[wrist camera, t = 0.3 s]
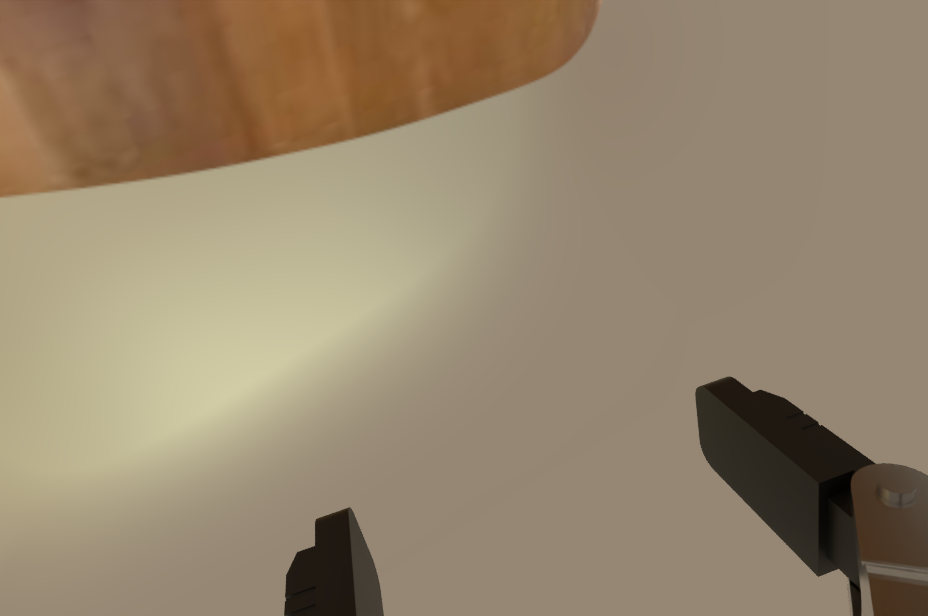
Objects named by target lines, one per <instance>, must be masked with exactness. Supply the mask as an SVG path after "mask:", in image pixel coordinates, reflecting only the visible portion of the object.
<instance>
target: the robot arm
mask: <svg viewBox="0 0 928 616" xmlns="http://www.w3.org/2000/svg"><path fill="white" fill-rule="evenodd" d="M696 407H697V416H698V428H699V438H700V444H701V448H702V451H703V454H704V456H705V458H706V460H707V461H708V463H709V464H710V466H711V467H712V468H713V469H714V470H715V471H716V472H717V473H718V474H719V476H720V477H721V478H722V479H723V480H724V481H725V482H726V483H727V484H728V485H729V486H730V487H731V488H732V489H733V490H734V491H735V492H736V493H737V494H738V495H739V496H740V497H741V498H742V499H743V500H744V501H745V502H746V503H747V504H748V505H749V506H750V507H751V508H752V509H753V510H754V511H755V512H756V513H757V514H758V515H759V517H761V519H762V520H763V521H764V522H765V523H766V524H767V525H768V526H769V527H770V528H771V529H772V530H773V531H774V532H775V533H776V534H777V535H778V536H779V537H780V538H781V539H782V540H783V541H784V542H785V543H786V544H787V545H788V546H789V547H790V548H791V549H792V550H793V551H794V552H795V553H796V554H797V555H798V556H799V558H801V560H802V561H803V562H804V563H805V564H806V565H807V566H808V567H809V568H810V569H811V570H812V571H813V572H814V573H815V574H816V575H817V576H818V577H819V576H821V575H824V574H826V573H829V572H831V571H834V570H837V569H840V570H841V571H842V572H843V573H844V574H845V575H846V576H847V577H848V598H849V607H850V616H928V476H927V475H926V474H924V473H922V472H920V471H917V470H915V469H913V468H910V467H907V466H902V465H897V464H885V463H882V464H875V463H874V462H873V461H871V460H870V459H868V458H867V457H866V456H864V455H863V454H861V453H860V452H859V451H857V450H856V449H854V448H853V447H852V446H850V445H849V444H847V443H846V442H845V441H843V440H842V439H841V438H839V437H838V436H836V435H835V434H834V433H832V432H831V431H829V430H828V429H827V428H825V427H824V426H822V425H821V426H820V425H819V424H818V422H817V421H816V420H814V419H813V418H811V417H810V416H809V415H807V414H806V415H805V414H804V413H803V411H801V410H800V409H799V408H798V407H796V406H795V405H793V404H792V403H791V402H789V401H788V400H786V399H785V398H782V397H780V396H777V395H774V394H771V393H768V392H765V391H763V390H758V391H756V392H752V391H750V390H749V389H748V388H746V387H745V386H744V385H742V384H741V383H740V382H739V381H737V380H736V379H734V378H733V377H726V378H723V379H720V380H717V381H714V382H711V383H708V384H705V385H703V386H700V387H698V388H697V389H696ZM285 597H286V601H285V612H284V615H285V616H384V614H383V607H382V598H381V591H380V584H379V580H378V575H377V572H376V568H375V565H374V562H373V559H372V556H371V554H370V552H369V549H368V547H367V544H366V542H365V540H364V537H363V534H362V532H361V530H360V527H359V525H358V522H357V520H356V518H355V515H354V513H353V511H352V509H351V508H350V507H349V508H346V509H344V510H341V511H338V512H335V513H332V514H329V515H326V516H324V517H321V518H318V519H316V521H315V546H314V547H311V548H308V549H305V550H302V551H300V552H297V554H296V556H295V558H294V560H293V562H292V564H291V567H290V568H289V571H288V573H287V575H286V593H285Z"/></svg>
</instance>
